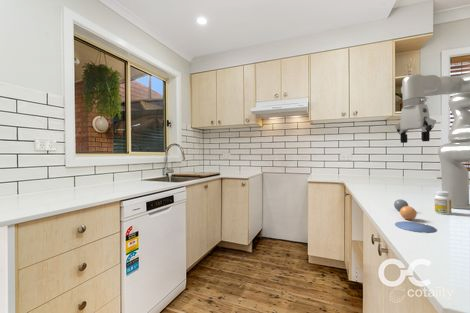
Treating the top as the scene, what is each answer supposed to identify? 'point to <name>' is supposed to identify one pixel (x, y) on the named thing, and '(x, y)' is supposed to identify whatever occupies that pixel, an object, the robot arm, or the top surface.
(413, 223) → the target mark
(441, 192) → the supplement bottle
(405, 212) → the object ball
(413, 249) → the top surface
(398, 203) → the grey ball
